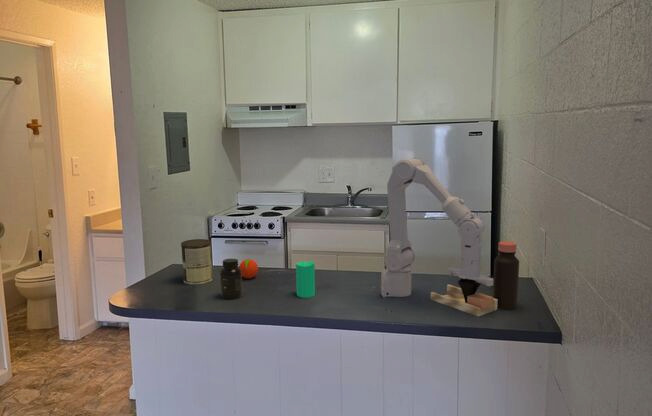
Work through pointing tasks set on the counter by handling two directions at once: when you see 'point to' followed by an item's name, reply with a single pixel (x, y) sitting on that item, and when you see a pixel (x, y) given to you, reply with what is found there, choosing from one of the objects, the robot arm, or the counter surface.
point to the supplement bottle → (231, 279)
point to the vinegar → (506, 276)
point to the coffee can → (196, 261)
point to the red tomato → (248, 268)
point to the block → (480, 300)
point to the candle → (305, 279)
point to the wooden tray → (461, 301)
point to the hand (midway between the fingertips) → (468, 303)
